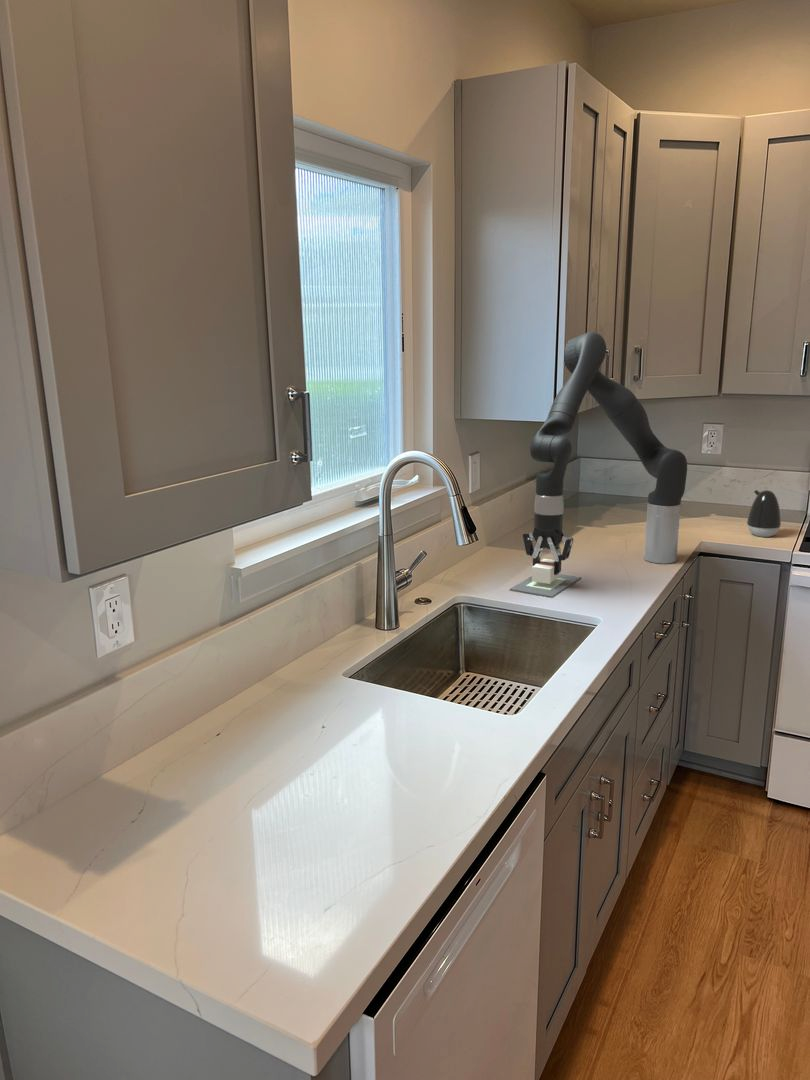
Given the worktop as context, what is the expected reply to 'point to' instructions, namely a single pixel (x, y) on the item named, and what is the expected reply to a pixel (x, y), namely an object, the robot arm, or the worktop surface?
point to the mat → (545, 586)
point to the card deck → (544, 571)
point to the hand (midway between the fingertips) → (546, 572)
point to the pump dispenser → (764, 515)
